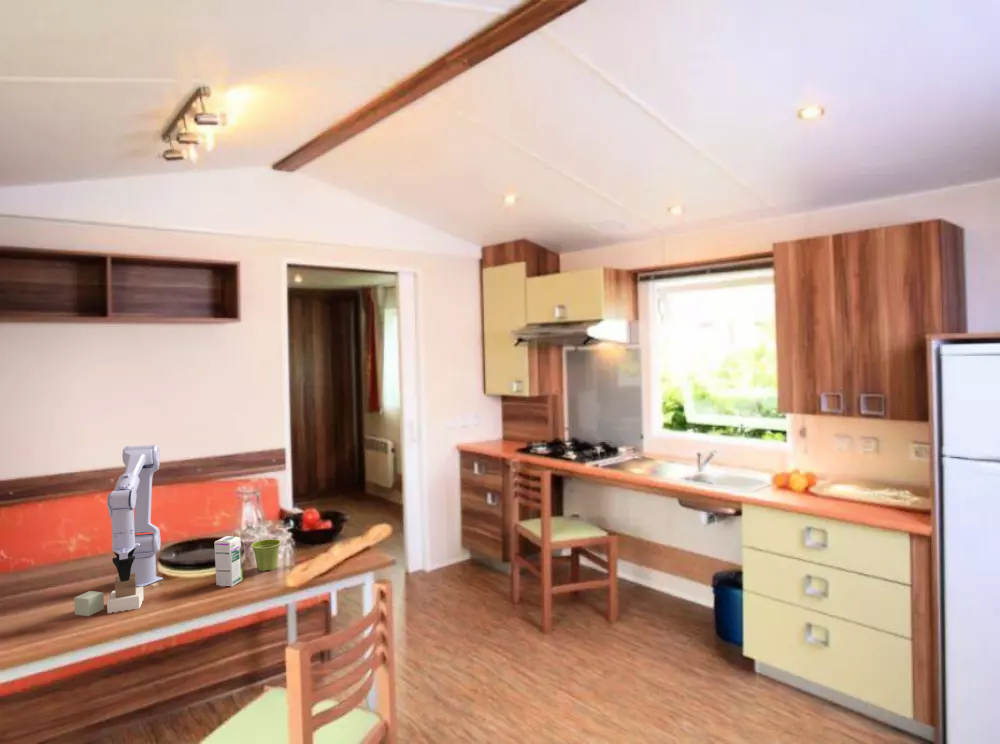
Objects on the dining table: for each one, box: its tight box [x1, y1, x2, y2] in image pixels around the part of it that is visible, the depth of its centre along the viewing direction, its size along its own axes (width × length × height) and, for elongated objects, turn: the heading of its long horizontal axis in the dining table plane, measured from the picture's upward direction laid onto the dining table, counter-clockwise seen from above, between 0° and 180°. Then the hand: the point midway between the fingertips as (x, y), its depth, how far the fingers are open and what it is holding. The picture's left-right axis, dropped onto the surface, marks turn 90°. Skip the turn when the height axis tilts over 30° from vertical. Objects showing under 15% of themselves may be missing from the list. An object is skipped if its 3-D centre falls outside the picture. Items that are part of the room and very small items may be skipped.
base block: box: [106, 586, 144, 614], centre depth 189 cm, size 8×8×4 cm
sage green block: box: [73, 590, 105, 617], centre depth 185 cm, size 5×5×5 cm
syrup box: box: [214, 535, 244, 588], centre depth 206 cm, size 6×6×14 cm
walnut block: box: [114, 573, 137, 598], centre depth 189 cm, size 5×5×5 cm
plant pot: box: [250, 538, 282, 572], centre depth 219 cm, size 9×9×9 cm
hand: (125, 576), depth 189 cm, fingers open, 7 cm apart
